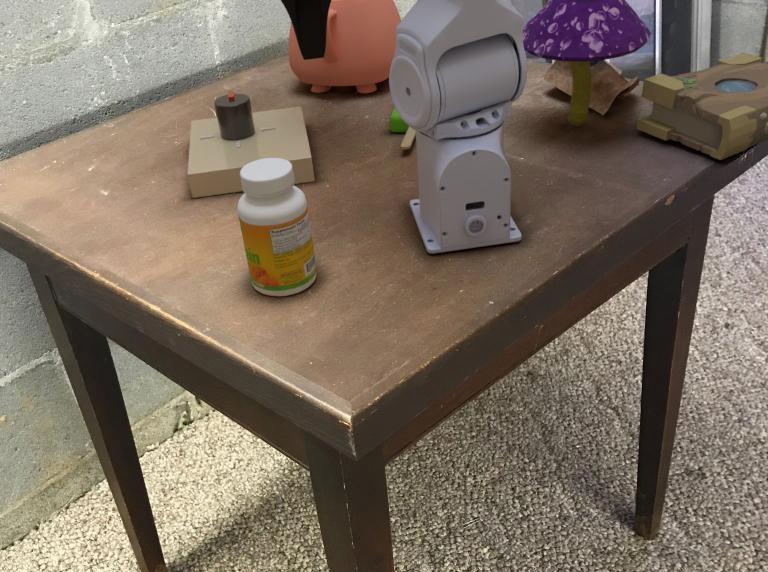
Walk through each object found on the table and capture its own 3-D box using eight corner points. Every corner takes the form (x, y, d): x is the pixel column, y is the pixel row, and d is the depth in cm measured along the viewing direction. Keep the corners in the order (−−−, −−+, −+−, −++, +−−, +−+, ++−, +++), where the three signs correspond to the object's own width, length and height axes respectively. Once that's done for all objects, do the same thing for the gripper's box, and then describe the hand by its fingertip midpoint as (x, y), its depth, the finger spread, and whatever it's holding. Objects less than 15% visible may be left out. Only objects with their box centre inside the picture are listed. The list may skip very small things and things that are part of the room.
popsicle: (453, 101, 99) (452, 84, 98) (432, 157, 88) (431, 138, 87) (405, 101, 100) (404, 84, 99) (378, 156, 89) (377, 138, 88)
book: (732, 92, 93) (743, 44, 90) (825, 124, 86) (841, 73, 83) (635, 128, 87) (643, 78, 84) (727, 166, 80) (739, 113, 77)
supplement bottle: (243, 275, 73) (220, 164, 67) (303, 257, 74) (286, 147, 68) (264, 305, 69) (243, 191, 63) (327, 285, 70) (312, 172, 64)
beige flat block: (315, 181, 86) (311, 155, 84) (192, 198, 85) (186, 172, 83) (304, 128, 97) (301, 104, 95) (196, 143, 96) (190, 119, 94)
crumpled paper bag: (638, 76, 89) (660, 97, 95) (556, 17, 94) (582, 42, 100) (601, 123, 91) (625, 141, 97) (523, 64, 96) (551, 84, 102)
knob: (255, 137, 89) (249, 100, 87) (220, 142, 89) (213, 105, 86) (254, 124, 92) (248, 88, 89) (220, 129, 92) (213, 93, 89)
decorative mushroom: (491, 132, 91) (491, -24, 81) (564, 94, 97) (572, -54, 88) (592, 161, 83) (605, -7, 74) (664, 118, 90) (685, -41, 80)
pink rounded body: (423, 51, 113) (418, -52, 106) (383, 110, 99) (374, -5, 91) (326, 51, 117) (315, -49, 109) (273, 107, 102) (256, -3, 95)
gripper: (247, -113, 86) (269, 30, 95) (250, -86, 75) (275, 74, 83) (318, -121, 87) (333, 22, 95) (332, -96, 75) (348, 64, 84)
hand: (310, 46), depth 89 cm, fingers open, 7 cm apart
